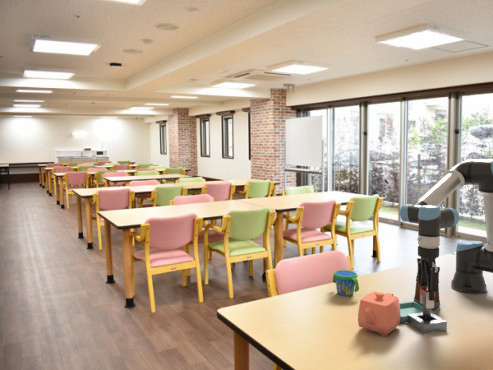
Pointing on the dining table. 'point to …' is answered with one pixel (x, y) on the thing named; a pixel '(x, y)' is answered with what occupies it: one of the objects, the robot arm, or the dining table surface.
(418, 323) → the eye block
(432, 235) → the robot arm
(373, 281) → the dining table surface
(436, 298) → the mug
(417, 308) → the tray
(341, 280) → the snack cup
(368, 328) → the teapot
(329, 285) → the dining table surface
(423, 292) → the rod with pink block
